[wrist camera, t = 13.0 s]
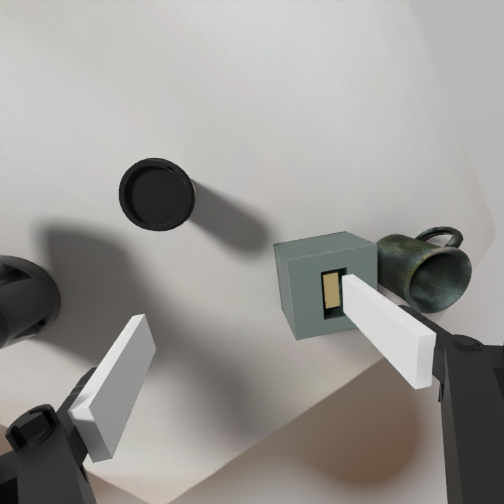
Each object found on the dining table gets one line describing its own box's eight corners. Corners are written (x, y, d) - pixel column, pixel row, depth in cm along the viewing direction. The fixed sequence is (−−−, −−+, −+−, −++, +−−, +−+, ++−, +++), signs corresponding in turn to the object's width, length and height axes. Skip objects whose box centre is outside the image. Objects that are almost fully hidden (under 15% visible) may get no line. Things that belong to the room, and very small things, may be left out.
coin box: (282, 309, 49) (296, 340, 39) (273, 244, 45) (287, 261, 35) (347, 296, 50) (377, 323, 40) (345, 231, 46) (377, 244, 36)
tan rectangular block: (309, 288, 47) (326, 308, 40) (306, 259, 46) (323, 275, 38) (321, 285, 47) (339, 305, 40) (318, 257, 46) (337, 272, 38)
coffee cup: (213, 185, 41) (207, 187, 26) (186, 226, 42) (167, 249, 28) (169, 154, 39) (136, 137, 24) (142, 197, 40) (97, 206, 26)
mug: (351, 267, 48) (391, 293, 37) (400, 206, 46) (459, 214, 34) (388, 292, 51) (436, 325, 39) (435, 236, 48) (501, 253, 37)
